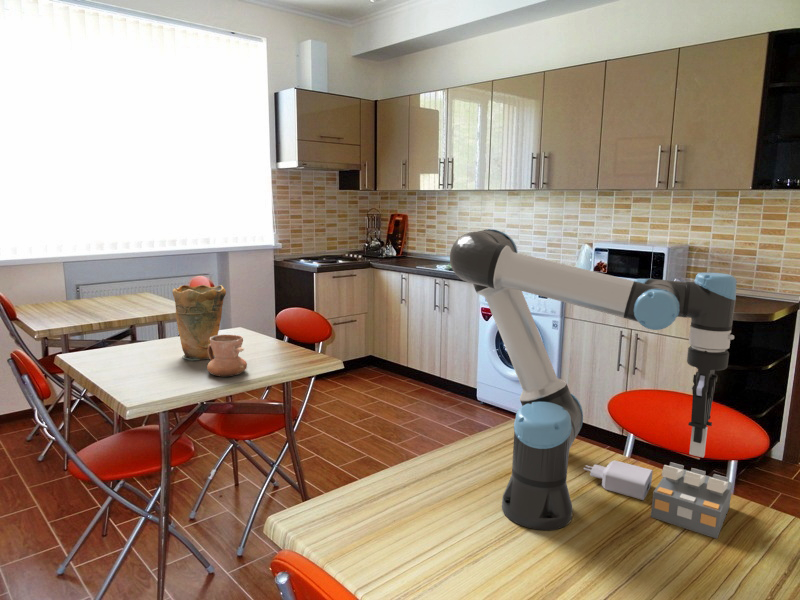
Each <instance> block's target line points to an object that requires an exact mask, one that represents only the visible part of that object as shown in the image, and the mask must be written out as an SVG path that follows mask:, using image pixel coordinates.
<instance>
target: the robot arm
mask: <svg viewBox="0 0 800 600" xmlns="http://www.w3.org/2000/svg"><path fill="white" fill-rule="evenodd" d="M518 252H519V251H518V247H517V245H516V242H515V241H514V239H512V237H511V236H509V235H508V234H507V233H506V232H504V231H501V230H497V229H492V228H490V229H483V230H477V231H469V232H467V233H464V234H462V235H461V236H459V237H458V238H457V239H456V240H455V242H454V243H453V244H452V246H451V249H450V251H449V264H450V267H451V269H452V270H453V272H454V274H455V275H456V277H458V278H459V279H460V280H462V281H463V282H467V283H469V284H472V285H473V288H474V290H475V292H476V293H475V294H478V295H480V296H482V297H484V298H485V301H486V302H487V305H488V308H489V309H490V310H489V311H490V312H491V315H492V317H493V319H494V322H495V325H496V327H497V329H498V332H499V335H500V338H501V339H502V342H503V345H504V346H505V347H504V348H505V349H506V352H507V354H508V356H509V359H510V362H511V365H512V367H513V369H514V371H515V373H516V374H515V375H516V377H517V379H518V382H519V384H520V386H521V389H522V391H521V393H520V396H519V401H520V403H521V407H519V409H518V410H517V412H516V413H515V420H514V422H513V432H514V433H513V447H512V449H513V450H512V463H511V464H512V466H511V476H510V479H508V483H507V485H506V488H505V490H504V492H503V495H502V499H501V500H502V501H501V510H502V513H503V514H504V515H505V516H506V517H507V518H508V519H509V520H510V521H512V522H513V523H515V524H518V525H520V526H522V527H525V528H528V529H533V530H540V531H552V530H553V531H554V530H558V529H563V528H564V527H566V526H568V525H569V524H570V523H571V522H572V519H573V511H574V510H573V509H574V508H573V503H572V500H571V496H570V492H569V491H570V490H569V487H568V484H567V477H568V466H569V465H568V464H569V454H570V449H571V447H572V445H573V443H574V442H575V440H576V438H577V436H578V434H579V433H580V431H581V429H582V427H583V422H584V411H583V406H582V404H581V403H580V401H579V399H578V398H577V397H576V396H575V395H574V394H573V393H571V391H570V388H569V386H568V384H567V382H566V381H565V380H563V379H561V378H559V377H557V374H556V371H555V369H554V367H553V364H552V361H551V360H550V357H549V355H548V352H547V349H546V347H545V344H544V341H543V339H542V337H541V335H540V332H539V329H538V327H537V325H536V323H535V320H534V318H533V315H532V313H531V310H530V307H529V305H528V303H527V300H526V298H525V295H524V293H523V292H525V293H528V294H532V295H536V296H540V297H542V298H548V299H551V300H555V301H558V302H563V303H566V304H569V305H573V306H578V307H582V308H584V309H589V310H592V311H597V312H601V313H604V314H608V315H612V316H615V317H619V318H623V319H626V320H629V321H632V322H637V323H638V324H640V325H641V326H642V327H644V328H646V329H648V330H653V331H659V330H664V329H666V328H668V327H670V326H671V325H672V324H673V323H674V322H675V321H676V319H677V318H684V319H685V318H691V319H690V328H689V333H688V334H689V335H688V344H689V345H690V346H689V347H688V348H687V357H686V363H687V364H688V365H689V366H691V367H693V368H696V369H697V371H696V372H695V374H693V376H692V377H693V378H692V382H693V385H692V387H691V389H692V400H691V401H692V402H691V416H690V417H691V421H689V422H688V426H690V427H691V435H690V444H689V453H688V454H689V455H691V456H695V457H700V458H704V457H705V455H706V445H707V435H708V429H709V427H712V425H713V422H711V421H709V420H710V419H711V411H712V406H713V405H712V404H713V400H714V394H715V389H716V388H715V387H716V383H717V382H718V375H717V374H715V372H716V371H724V370H727V368H728V364H729V358H730V357H729V356H730V352H729V351H728V349H730V346H731V345H730V344H731V341H732V340H734V339H735V335H733V334H731V333H732V329H733V322H734V315H735V307H736V300H737V297H736V296H737V285H738V284H737V283H738V282H737V279H736V277H735V276H733V275H732V274H728V273H721V272H698V273H697V274H696V275H695V279H694V281H693V280H692V281H681V280H668V279H667V280H666V279H656V278H655V279H654V278H636V279H634V280H631V279H628V278H627V279H626V278H621V277H618V276H614V275H611V274H605V273H601V272H597V271H593V270H588V269H585V268H581V267H578V266H572V265H568V264H564V263H560V262H557V261H552V260H549V259H548V260H547V259H544V258H540V257H535V256H532V255H527V254H523V253H518ZM708 426H709V427H708Z"/></svg>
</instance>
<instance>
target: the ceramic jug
mask: <svg viewBox="0 0 800 600" xmlns="http://www.w3.org/2000/svg"><path fill="white" fill-rule="evenodd" d="M243 342H244V337H243V336H242V335H240V334H239V335H238V334H237V335H236V334H218V335H215V336H213V337H210V344H209V346H208V355H209V358H208V359H209V360H210V361H209V362H208V364H207V366H206V368H207V371H208V372H209V373H210V374H211V375H214V376H217V377H233V376H237V375H240V374H242V373H243V372H245V371H246V370H247V367H248V363H247V361H246V360H245V359H244V358H242V357H241V356H239V353H242V352H243V351H245V348H243V347H242V346H243ZM212 350H213V351H212ZM213 352H214V354H215V357H214V355H213Z"/></svg>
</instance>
